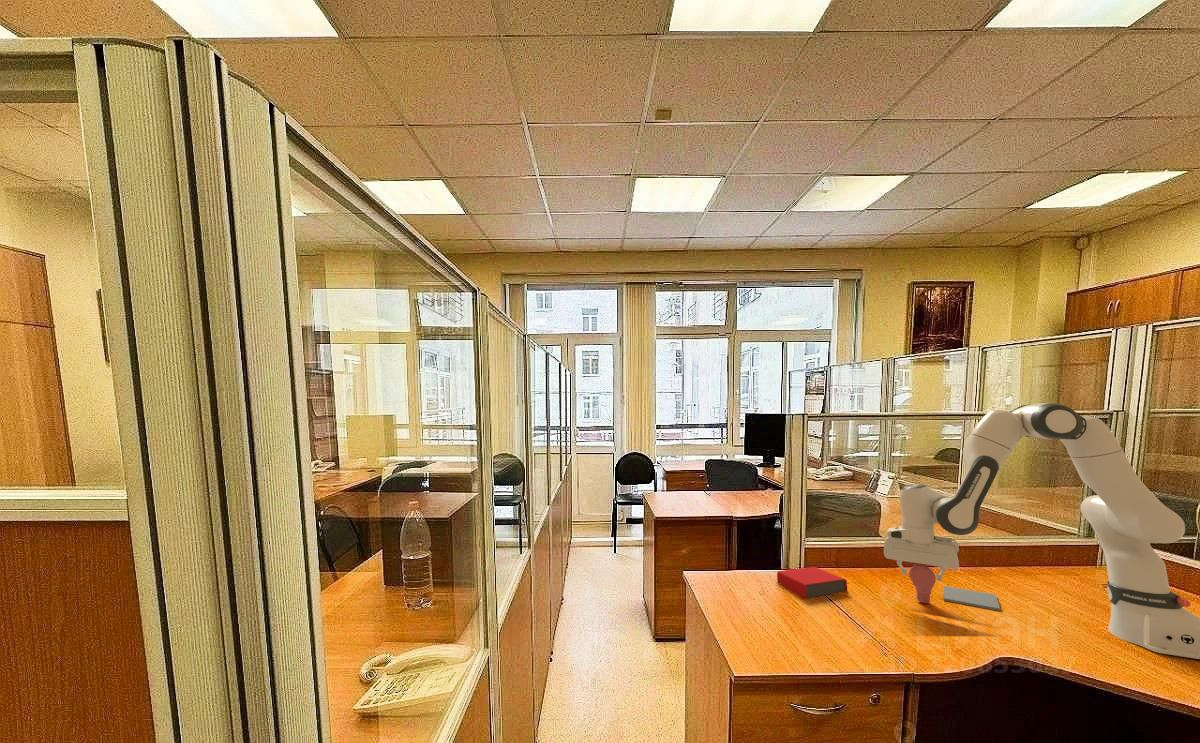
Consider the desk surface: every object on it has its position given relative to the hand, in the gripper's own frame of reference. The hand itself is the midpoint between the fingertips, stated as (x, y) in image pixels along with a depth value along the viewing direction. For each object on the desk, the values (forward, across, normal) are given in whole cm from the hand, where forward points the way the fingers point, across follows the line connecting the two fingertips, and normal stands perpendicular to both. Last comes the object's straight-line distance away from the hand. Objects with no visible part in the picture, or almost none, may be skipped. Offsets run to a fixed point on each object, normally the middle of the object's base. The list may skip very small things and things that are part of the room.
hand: (921, 577), depth 145 cm
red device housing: (+9, +32, +8) cm, 35 cm away
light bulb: (+8, 0, 0) cm, 8 cm away
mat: (+8, -12, -13) cm, 20 cm away
